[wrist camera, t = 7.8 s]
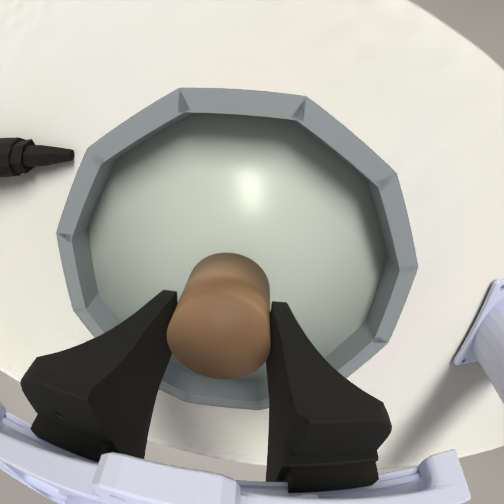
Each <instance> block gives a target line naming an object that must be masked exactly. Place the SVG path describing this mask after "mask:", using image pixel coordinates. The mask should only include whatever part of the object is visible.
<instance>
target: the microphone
mask: <svg viewBox="0 0 504 504" xmlns="http://www.w3.org/2000/svg"><path fill="white" fill-rule="evenodd" d="M73 157H74V150H71V149H64V148H57V147H50V146H43V145H35V144H34V142H33V140H32V139H30V140H24V139H21V138H0V177H9V176H19V175H20V174H21V173H28V172H29V171H30V170H31V169H32V168H34V167H35V166H45V165H50V164H55V163H60V162H66V161H71V160H72V159H73Z"/></svg>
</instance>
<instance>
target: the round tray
mask: <svg viewBox="0 0 504 504" xmlns="http://www.w3.org/2000/svg"><path fill="white" fill-rule="evenodd" d="M56 234H57V240H58V246H59V251H60V257H61V262H62V266H63V271H64V276H65V280H66V284H67V288H68V292H69V296H70V300H71V304H72V307H73V311H74V312H75V313H76V315H77V316H78V317H79V318H80V320H81V321H82V322H83V324H84V325H85V326H86V327H87V329H88V330H89V331H90V333H91V334H92V335H93V336H94V337H95V338H96V337H98V336H100V335H102V334H103V333H105V332H107V331H109V330H110V329H112V328H114V327H115V326H117V325H118V324H120V323H121V322H123V321H124V320H126V319H127V318H128V317H130V316H131V315H133V314H134V313H135V312H137V311H138V310H139V309H140V308H142V307H143V306H144V305H145V304H146V303H148V302H149V301H150V300H151V299H153V298H154V297H155V296H156V295H157V294H159V293H160V292H161V291H162V290H170V291H177V301H178V302H179V299H180V297H181V295H182V292H183V290H184V288H185V285H186V283H187V281H188V278H189V276H190V274H191V272H192V270H193V268H194V267H195V266H196V264H197V263H199V262H200V261H201V260H202V259H204V258H205V257H208V256H210V255H213V254H217V253H225V252H227V253H236V254H240V255H243V256H245V257H248V258H250V259H251V260H253V261H254V262H256V263H257V264H258V265H259V266H260V267H261V268H262V269H263V271H264V272H265V274H266V276H267V278H268V281H269V285H270V311H271V304H272V301H276V302H287V304H288V305H289V307H290V309H291V311H292V313H293V315H294V316H295V318H296V320H297V322H298V323H299V325H300V327H301V328H302V330H303V331H304V333H305V334H306V336H307V337H308V339H309V340H310V341H311V343H312V344H313V345H314V347H315V348H316V349H317V350H318V352H319V353H320V354H321V355H322V356H323V357H324V358H325V360H326V361H327V362H328V363H329V364H330V365H331V366H332V367H333V368H334V369H336V370H337V371H338V372H339V373H340V374H341V375H343V376H344V377H345V378H347V377H348V376H350V375H351V374H352V373H353V372H355V371H356V370H357V369H358V368H360V367H361V366H362V365H363V364H364V363H366V362H367V361H368V360H369V359H370V358H371V357H373V356H374V355H375V354H376V353H377V352H378V351H380V350H381V349H382V348H383V347H384V346H385V345H386V344H387V343H388V342H389V340H390V338H391V335H392V333H393V331H394V329H395V326H396V324H397V322H398V319H399V317H400V314H401V312H402V309H403V307H404V304H405V302H406V299H407V297H408V294H409V291H410V289H411V286H412V283H413V280H414V278H415V275H416V272H417V269H418V263H417V258H416V252H415V247H414V242H413V237H412V232H411V227H410V223H409V218H408V214H407V210H406V206H405V202H404V198H403V194H402V190H401V187H400V183H399V180H398V176H397V173H396V172H395V171H394V170H393V169H392V168H391V167H390V166H389V165H388V164H387V163H386V162H385V161H383V160H382V159H381V158H380V157H379V156H378V155H377V154H376V153H375V152H374V151H373V150H372V149H370V148H369V147H368V146H367V145H366V144H365V143H364V142H363V141H361V140H360V139H359V138H358V137H357V136H356V135H354V134H353V133H352V132H351V131H350V130H349V129H347V128H346V127H345V126H344V125H343V124H341V123H340V122H339V121H338V120H336V119H335V118H334V117H333V116H331V115H330V114H329V113H328V112H326V111H325V110H324V109H322V108H321V107H320V106H319V105H317V104H316V103H315V102H313V101H312V100H311V99H309V98H308V97H306V96H300V95H293V94H285V93H276V92H267V91H256V90H242V89H223V88H178V89H177V90H175V91H173V92H171V93H169V94H168V95H166V96H164V97H163V98H161V99H159V100H158V101H156V102H154V103H153V104H151V105H149V106H148V107H146V108H144V109H143V110H141V111H140V112H138V113H137V114H135V115H134V116H132V117H130V118H129V119H127V120H126V121H124V122H123V123H122V124H120V125H119V126H117V127H116V128H114V129H113V130H111V131H110V132H109V133H107V134H106V135H104V136H103V137H102V138H100V139H99V140H98V141H96V142H95V143H94V144H92V145H91V146H90V147H88V148H87V150H86V152H85V155H84V157H83V159H82V162H81V164H80V167H79V169H78V172H77V174H76V177H75V179H74V182H73V184H72V187H71V190H70V192H69V195H68V198H67V201H66V204H65V207H64V210H63V213H62V216H61V219H60V222H59V225H58V229H57V232H56ZM159 389H160V390H162V391H164V392H166V393H168V394H170V395H173V396H175V397H177V398H179V399H181V400H183V401H185V402H190V403H197V404H204V405H211V406H220V407H229V408H240V409H252V410H261V409H265V408H269V393H268V381H267V369H266V362H265V363H264V364H263V365H262V366H261V367H260V368H259V369H258V370H256V371H255V372H253V373H251V374H249V375H246V376H243V377H240V378H234V379H217V378H211V377H207V376H203V375H200V374H198V373H196V372H194V371H192V370H190V369H188V368H187V367H185V366H184V365H183V364H181V363H180V362H179V361H178V360H177V359H176V357H175V356H174V355H173V353H172V355H171V358H170V361H169V363H168V366H167V368H166V371H165V373H164V376H163V379H162V381H161V384H160V386H159Z"/></svg>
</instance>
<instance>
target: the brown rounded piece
mask: <svg viewBox="0 0 504 504" xmlns="http://www.w3.org/2000/svg"><path fill="white" fill-rule="evenodd" d="M167 342H168V345H169V348H170V350H171V352H172V353H173V355H174V356H175V357H176V359H177V360H178V361H179V362H180V363H181V364H183V365H184V366H185V367H187V368H188V369H190V370H192V371H194V372H196V373H198V374H200V375H203V376H207V377H211V378H217V379H234V378H240V377H243V376H246V375H249V374H251V373H253V372H255V371H256V370H258V369H259V368H260V367H261V366H262V365H263V364H264V363H265V362H266V360H267V358H268V356H269V353H270V348H271V339H270V285H269V281H268V278H267V276H266V274H265V272H264V271H263V269H262V268H261V267H260V266H259V265H258V264H257V263H256V262H254V261H253V260H251V259H250V258H248V257H245V256H243V255H240V254H236V253H227V252H225V253H217V254H213V255H210V256H208V257H205V258H204V259H202V260H201V261H200V262H199V263H197V264H196V266H195V267H194V268H193V270H192V272H191V274H190V276H189V278H188V281H187V283H186V285H185V288H184V290H183V292H182V295H181V297H180V299H179V302H178V304H177V306H176V309H175V311H174V314H173V316H172V318H171V321H170V323H169V326H168V329H167Z"/></svg>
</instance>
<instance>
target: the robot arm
mask: <svg viewBox="0 0 504 504" xmlns="http://www.w3.org/2000/svg"><path fill="white" fill-rule="evenodd" d="M177 304H178V301H177V291H170V290H162V291H161V292H160V293H159V294H157V295H156V296H155V297H154V298H153V299H151V300H150V301H149V302H148V303H146V304H145V305H144V306H143V307H142V308H140V309H139V310H138V311H137V312H135V313H134V314H133V315H131V316H130V317H128V318H127V319H126V320H124V321H123V322H121V323H120V324H118V325H117V326H115V327H114V328H112V329H110V330H109V331H107V332H105V333H103V334H102V335H100V336H98V337H96V338H93V339H91V340H89V341H87V342H85V343H83V344H80V345H78V346H75V347H72V348H70V349H67V350H64V351H60V352H57V353H53V354H49V355H45V356H40V357H37V358H36V359H35V360H34V362H33V363H32V365H31V366H30V367H29V369H28V370H27V372H26V373H25V375H24V376H23V378H22V379H21V387H22V390H23V392H24V394H25V396H26V397H27V399H28V401H29V402H30V403H31V405H32V406H33V408H34V409H35V411H36V412H37V413H38V415H37V417H36V419H35V420H34V422H33V424H29V423H28V422H26V421H24V420H22V419H20V418H18V417H16V416H14V415H12V414H11V413H9V412H7V411H6V409H5V407H4V406H3V405H2V403H1V402H0V469H2V470H3V471H4V472H6V473H8V474H9V475H11V476H12V477H14V478H15V479H16V480H18V481H20V482H21V483H23V484H25V485H26V486H28V487H29V488H31V489H33V490H35V491H36V492H38V493H39V494H41V495H43V496H45V497H47V498H49V499H50V500H52V501H54V502H56V503H58V504H463V503H465V502H466V501H468V500H469V499H470V498H471V496H470V492H469V489H468V486H467V483H466V480H465V477H464V474H463V471H462V468H461V465H460V462H459V459H458V457H457V454H456V451H455V450H454V449H452V450H449V451H445V452H442V453H438V454H435V455H432V456H430V457H428V458H426V459H425V460H423V461H422V462H421V463H420V464H419V466H417V467H413V468H408V469H404V470H399V471H394V472H389V473H384V474H378V472H377V467H376V461H377V460H378V453H377V449H378V448H379V447H380V446H381V445H382V443H383V442H384V441H385V440H386V439H387V437H388V436H389V434H390V433H391V430H392V425H391V422H390V419H389V415H388V413H387V410H386V408H385V406H384V404H383V402H381V401H380V400H378V399H376V398H374V397H373V396H371V395H369V394H368V393H366V392H364V391H363V390H361V389H360V388H358V387H357V386H355V385H354V384H353V383H351V382H350V381H349V380H347V379H346V378H345V377H344V376H343V375H341V374H340V373H339V372H338V371H337V370H336V369H334V368H333V367H332V366H331V365H330V364H329V363H328V362H327V361H326V360H325V358H324V357H323V356H322V355H321V354H320V353H319V352H318V350H317V349H316V348H315V347H314V345H313V344H312V343H311V341H310V340H309V339H308V337H307V336H306V334H305V333H304V331H303V330H302V328H301V327H300V325H299V323H298V322H297V320H296V318H295V316H294V315H293V313H292V311H291V309H290V307H289V305H288V304H287V302H276V301H272V304H271V311H270V339H271V348H270V353H269V356H268V358H267V360H266V369H267V381H268V393H269V436H268V456H267V472H266V482H256V481H240V480H234V479H232V478H229V477H227V476H224V475H222V474H217V473H212V472H208V471H202V470H195V469H189V468H183V467H177V466H172V465H167V464H162V463H158V462H153V461H149V460H145V459H144V456H145V449H146V443H147V437H148V432H149V427H150V422H151V417H152V412H153V408H154V404H155V400H156V396H157V392H158V389H159V386H160V384H161V381H162V379H163V376H164V373H165V371H166V368H167V366H168V363H169V361H170V358H171V355H172V352H171V350H170V348H169V345H168V342H167V329H168V326H169V323H170V321H171V318H172V316H173V314H174V311H175V309H176V306H177ZM453 362H454V364H455V365H464V364H471V363H477V362H479V363H480V365H481V367H482V368H483V370H484V371H485V373H486V375H487V376H488V378H489V380H490V381H491V383H492V385H493V386H494V388H495V390H496V392H497V393H498V395H499V397H500V399H501V400H502V402H503V404H504V280H501V279H497V280H495V281H494V282H493V284H492V286H491V288H490V291H489V293H488V295H487V297H486V300H485V302H484V304H483V306H482V308H481V310H480V312H479V314H478V316H477V318H476V320H475V322H474V324H473V326H472V328H471V330H470V332H469V334H468V336H467V337H466V339H465V341H464V343H463V345H462V346H461V348H460V350H459V352H458V353H457V355H456V357H455V358H454V360H453Z"/></svg>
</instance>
